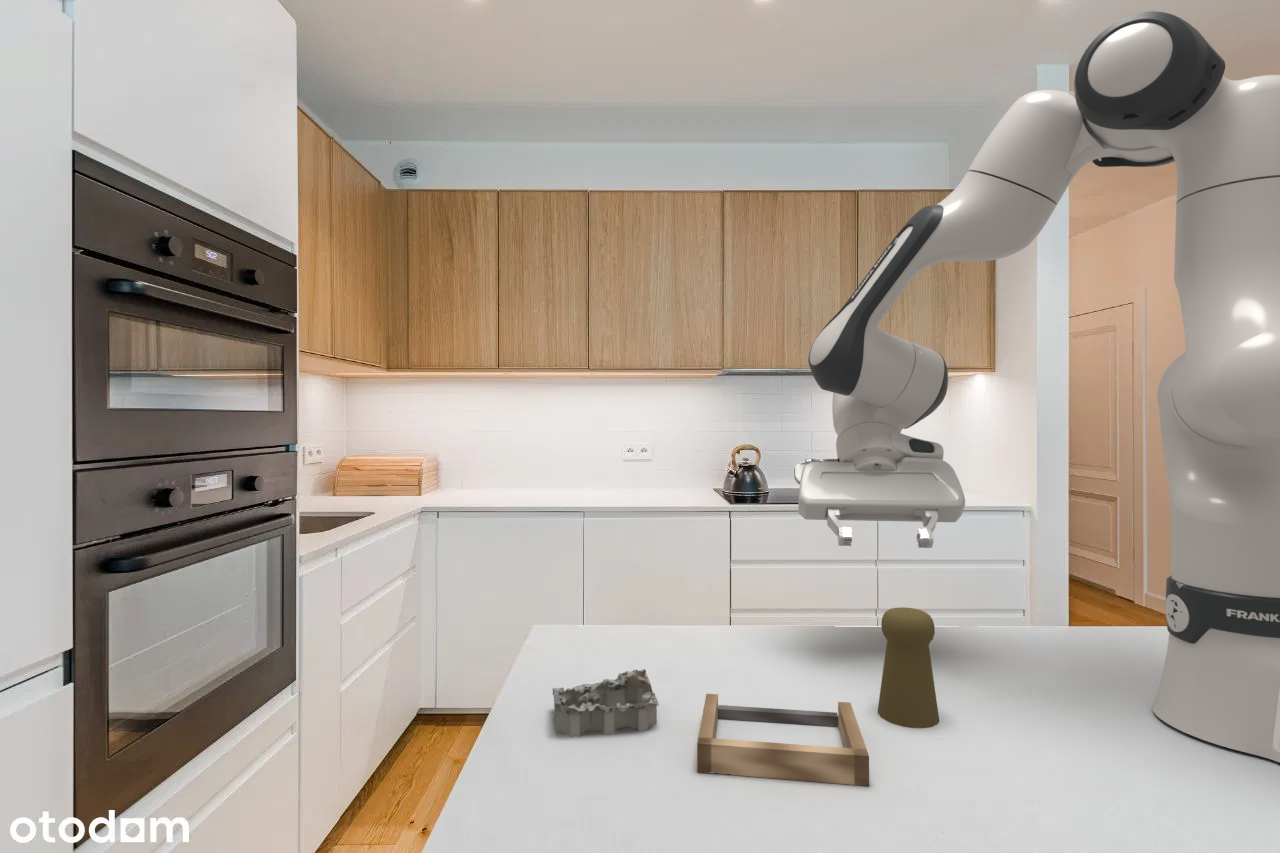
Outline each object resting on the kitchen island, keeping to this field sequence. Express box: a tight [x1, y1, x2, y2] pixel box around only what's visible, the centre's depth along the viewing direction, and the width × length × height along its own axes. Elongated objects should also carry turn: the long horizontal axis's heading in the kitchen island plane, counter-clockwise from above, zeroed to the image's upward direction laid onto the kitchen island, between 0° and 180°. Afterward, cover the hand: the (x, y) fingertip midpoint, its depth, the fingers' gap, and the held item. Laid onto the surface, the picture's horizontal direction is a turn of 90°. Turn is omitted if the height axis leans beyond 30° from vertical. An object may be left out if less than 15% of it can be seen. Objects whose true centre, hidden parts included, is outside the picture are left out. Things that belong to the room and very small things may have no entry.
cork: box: [877, 606, 940, 729], centre depth 71 cm, size 6×6×11 cm
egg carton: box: [552, 669, 660, 738], centre depth 70 cm, size 11×8×4 cm
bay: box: [696, 693, 870, 787], centre depth 64 cm, size 14×12×2 cm
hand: (885, 544), depth 83 cm, fingers open, 8 cm apart
